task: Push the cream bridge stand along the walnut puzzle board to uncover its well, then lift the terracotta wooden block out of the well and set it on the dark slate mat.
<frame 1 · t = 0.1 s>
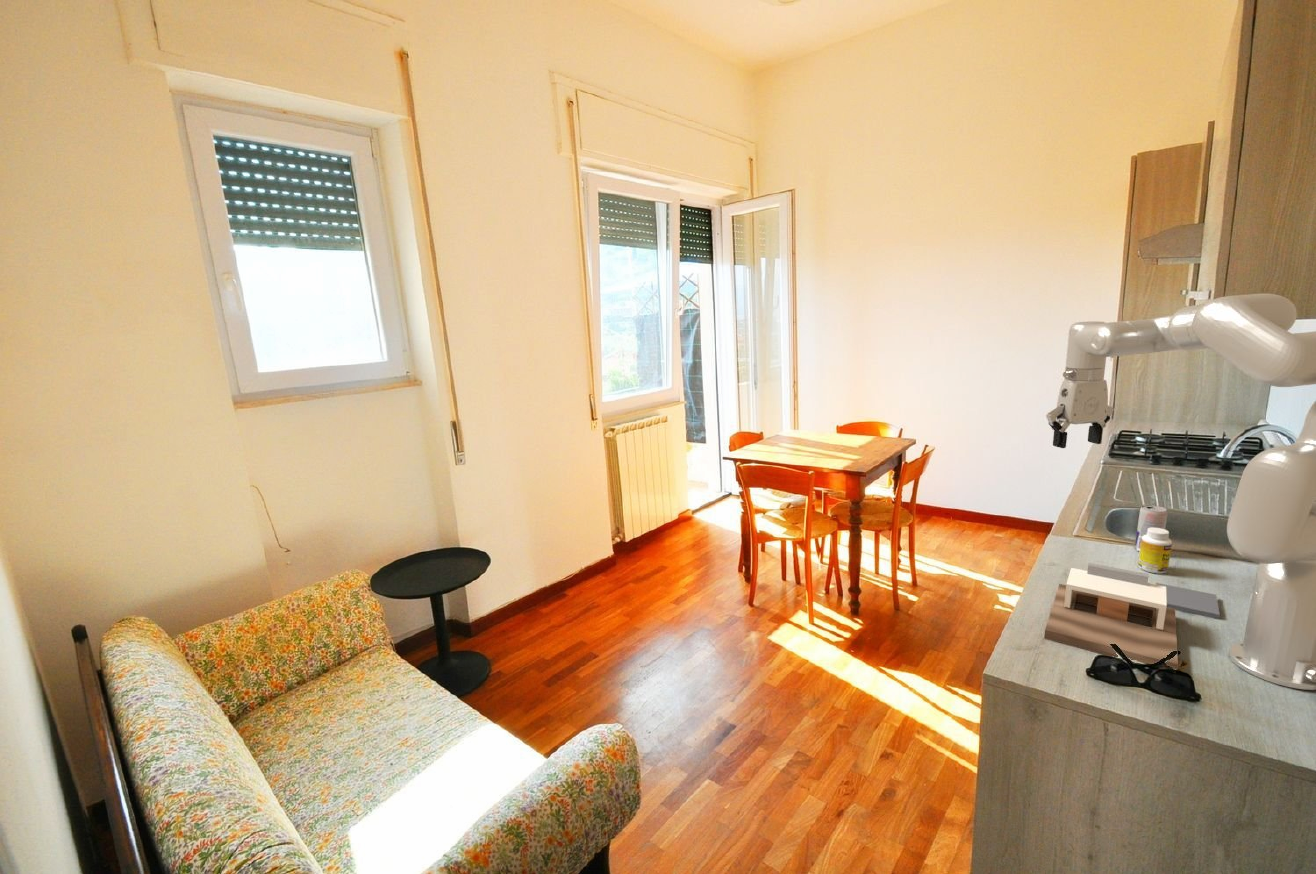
hand: (1076, 444, 139), 31 cm above the countertop, fingers open, 9 cm apart
block: (1112, 605, 121), in the puzzle board
slate mat: (1185, 602, 126), on the countertop
puzzle board: (1111, 618, 122), on the countertop
supplement bottle: (1152, 570, 140), on the countertop
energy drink: (1147, 552, 149), on the countertop
cream bridge stand: (1114, 592, 120), point 6 cm above the countertop, slide at 0.0 cm
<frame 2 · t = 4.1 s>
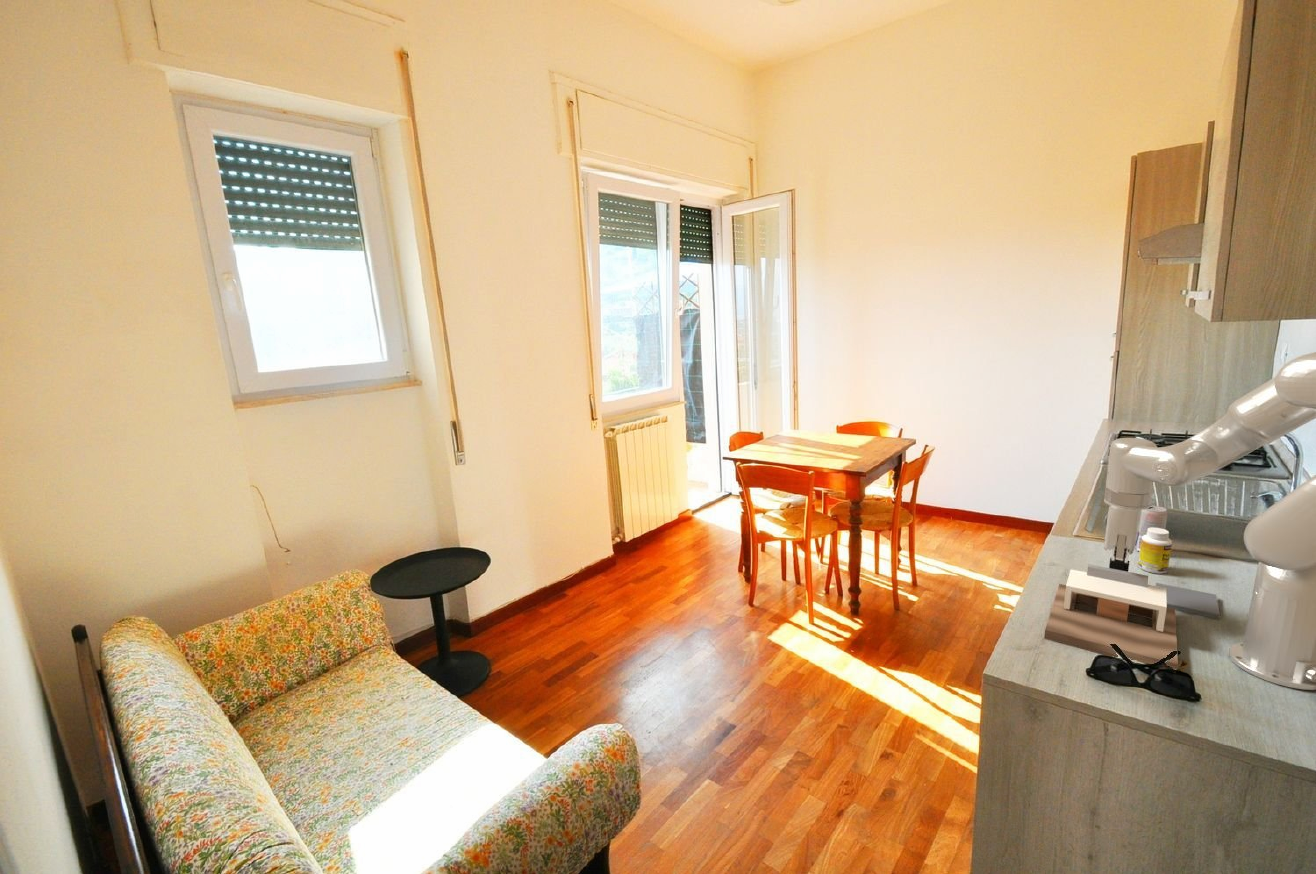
hand: (1117, 577, 124), 7 cm above the countertop, fingers closed
cream bridge stand: (1114, 594, 120), point 6 cm above the countertop, slide at 0.8 cm, touching gripper
everything else where it was.
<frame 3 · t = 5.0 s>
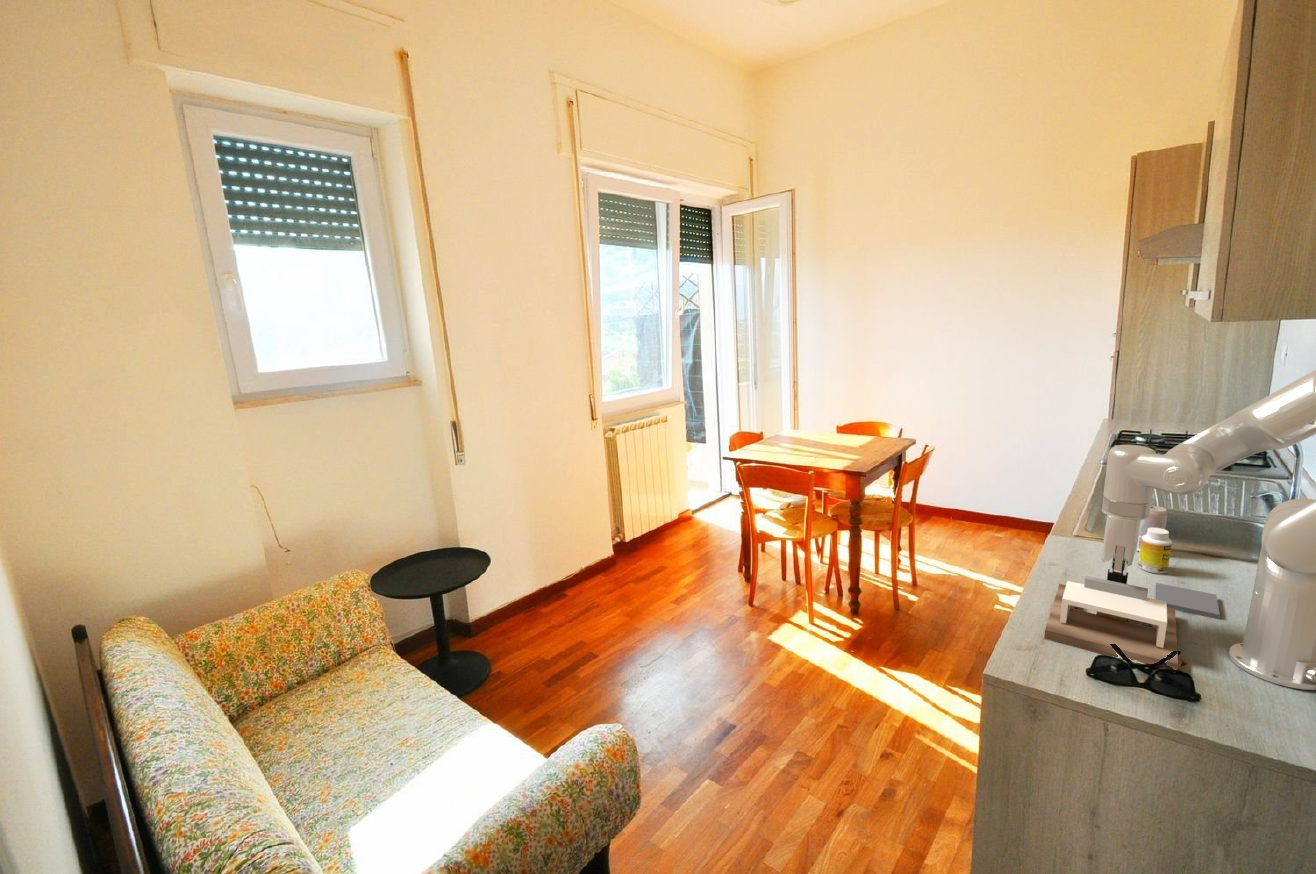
hand: (1115, 589, 119), 7 cm above the countertop, fingers closed
cream bridge stand: (1112, 607, 115), point 6 cm above the countertop, slide at 7.3 cm, touching gripper
everything else where it was.
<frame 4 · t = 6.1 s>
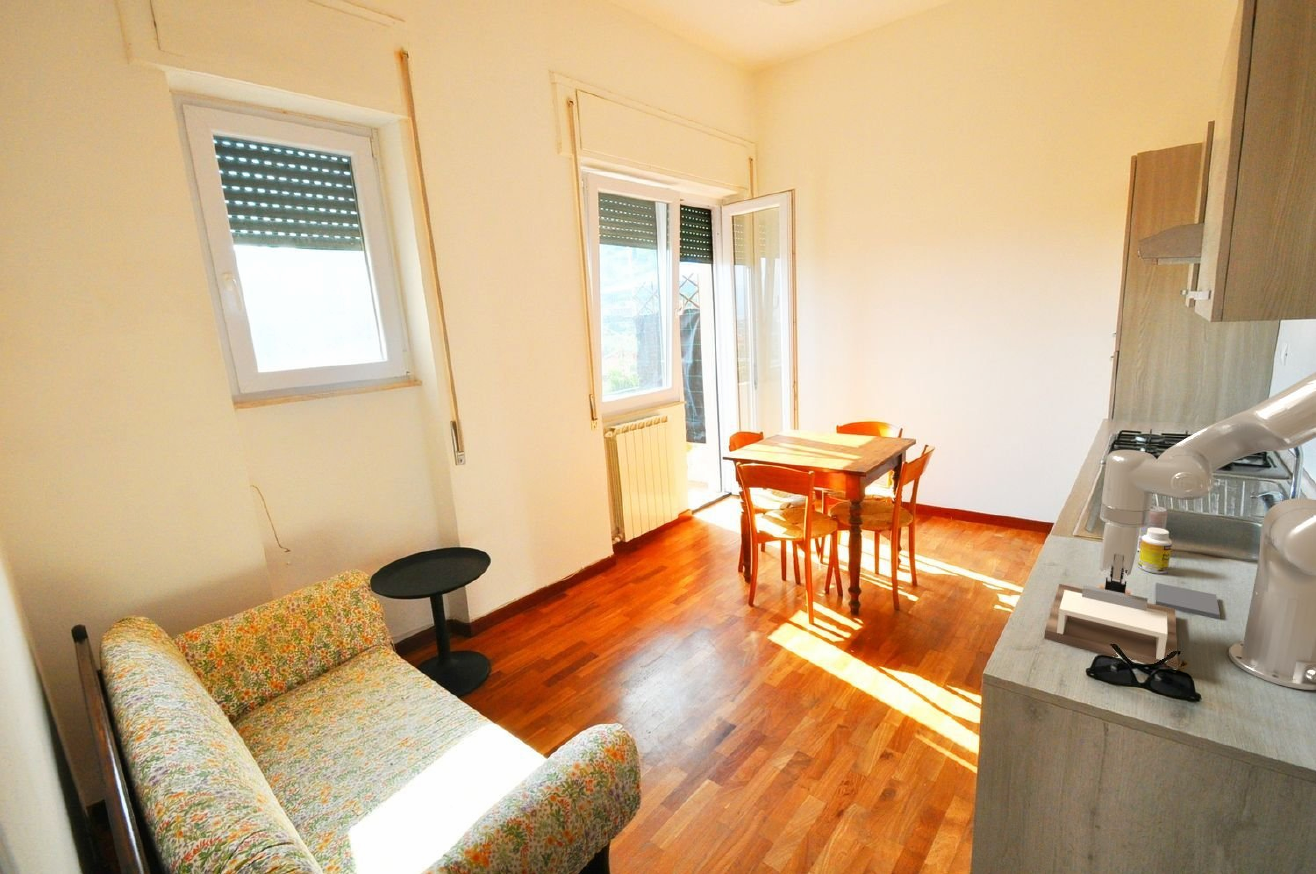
hand: (1113, 598, 116), 7 cm above the countertop, fingers closed
cream bridge stand: (1111, 618, 111), point 6 cm above the countertop, slide at 12.0 cm, touching gripper
everything else where it was.
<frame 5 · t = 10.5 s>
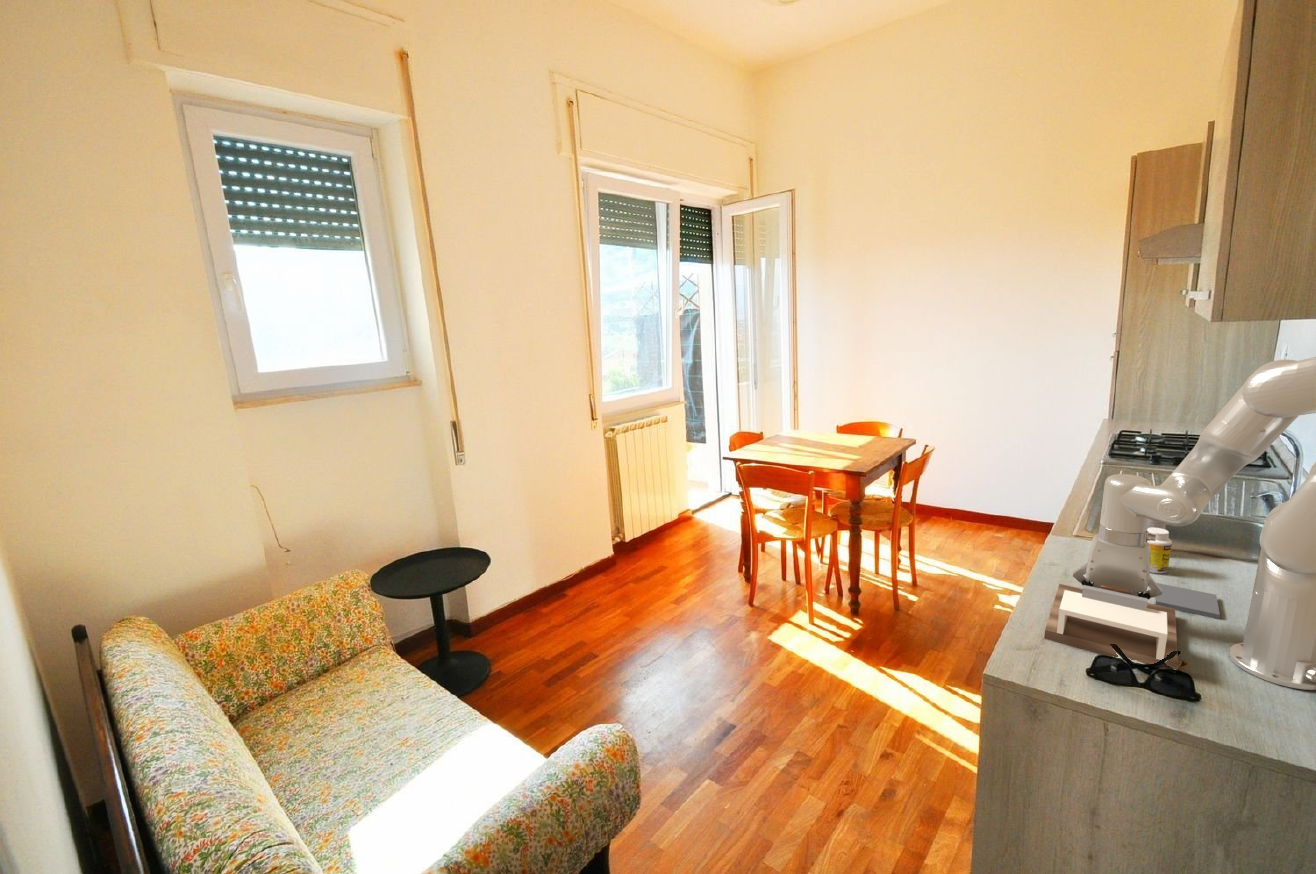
hand: (1111, 613, 121), 1 cm above the countertop, fingers closed on block, 5 cm apart
block: (1113, 605, 121), in the puzzle board, touching gripper
cream bridge stand: (1111, 618, 111), point 6 cm above the countertop, slide at 12.0 cm
everything else where it was.
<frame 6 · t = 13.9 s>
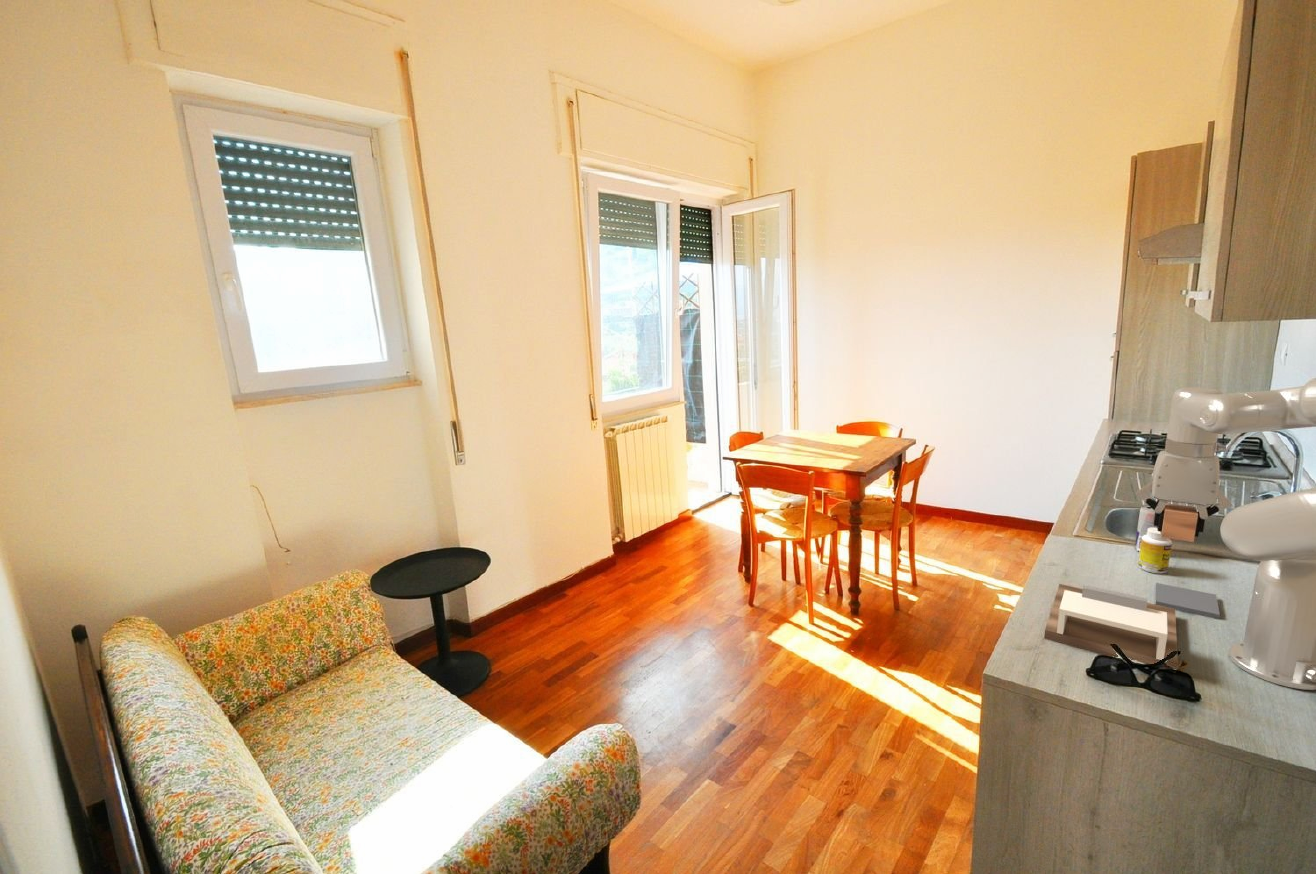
hand: (1177, 531, 121), 17 cm above the countertop, fingers closed on block, 5 cm apart
block: (1178, 522, 120), point 19 cm above the countertop, touching gripper
everything else where it was.
when the fingers open (3 cm above the countertop, at t = 17.4 s): block drops 1 cm, resting on slate mat.
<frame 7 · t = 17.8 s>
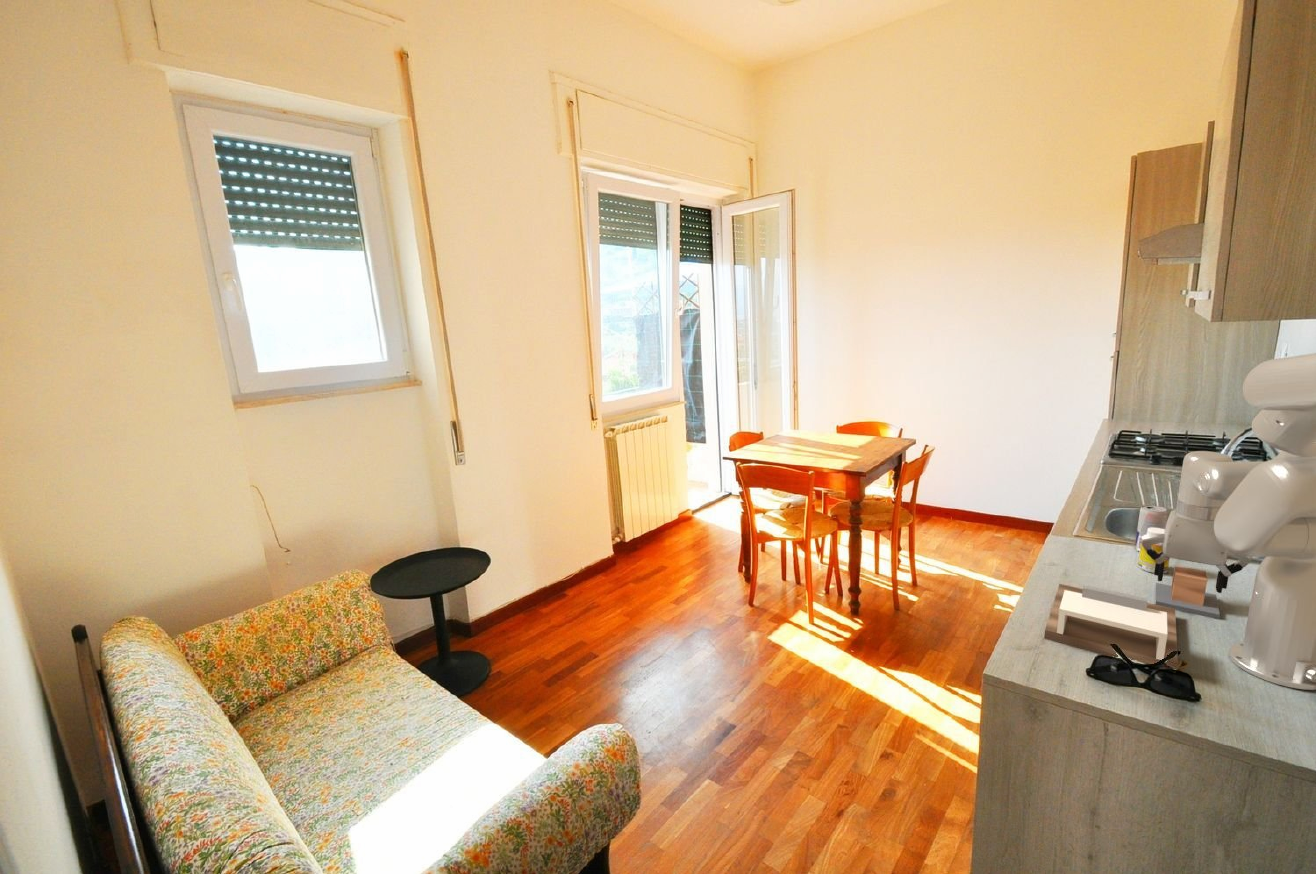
hand: (1188, 584, 125), 4 cm above the countertop, fingers open, 9 cm apart
block: (1188, 585, 125), on the slate mat, point 4 cm above the countertop
everything else where it was.
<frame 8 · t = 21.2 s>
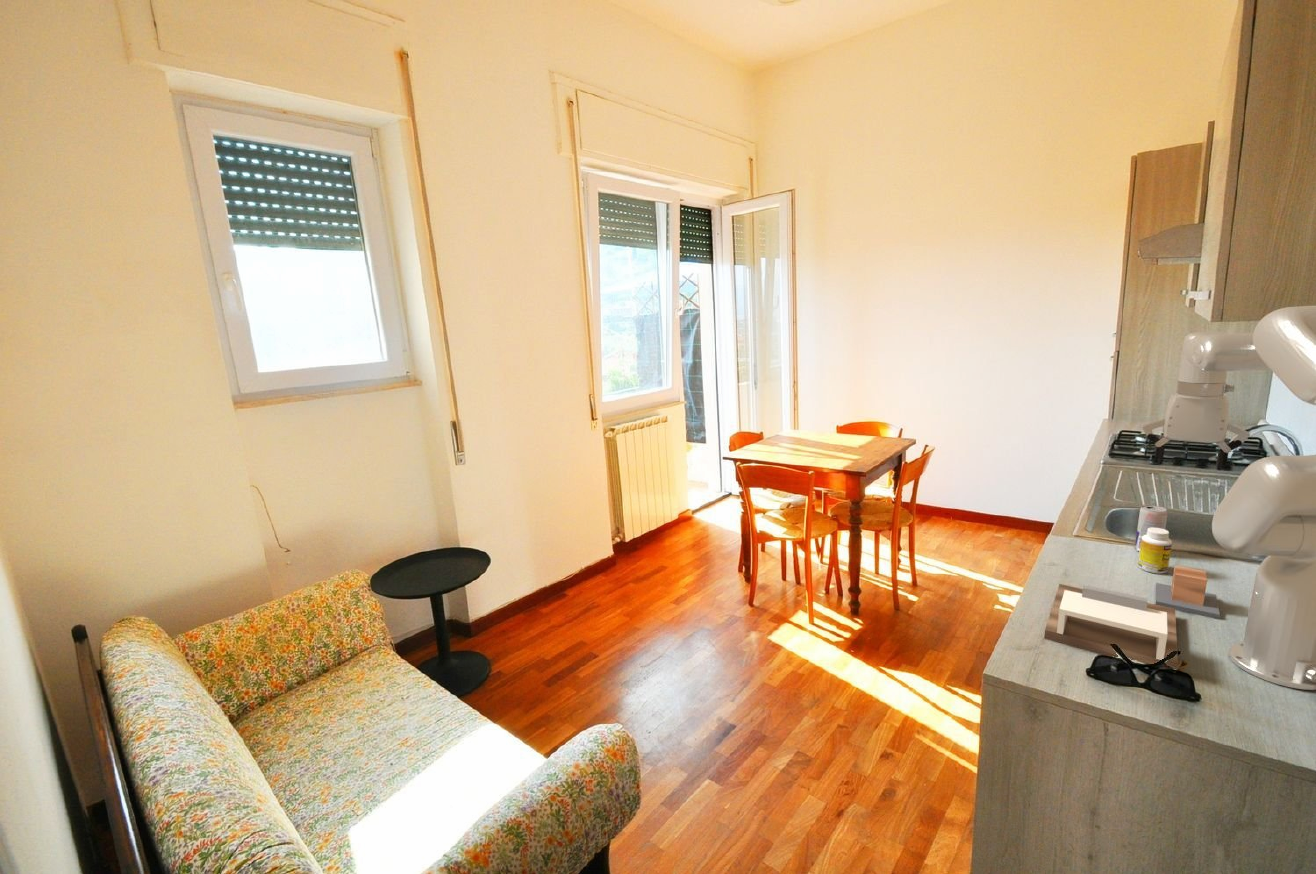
hand: (1188, 465, 128), 28 cm above the countertop, fingers open, 9 cm apart
nothing on the countertop moved.
at the end: cream bridge stand slide at 12.0 cm; block inside the target area on the slate mat (0.0 cm from its centre), point 4.0 cm above the slate mat's base; block tilted 0° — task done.
